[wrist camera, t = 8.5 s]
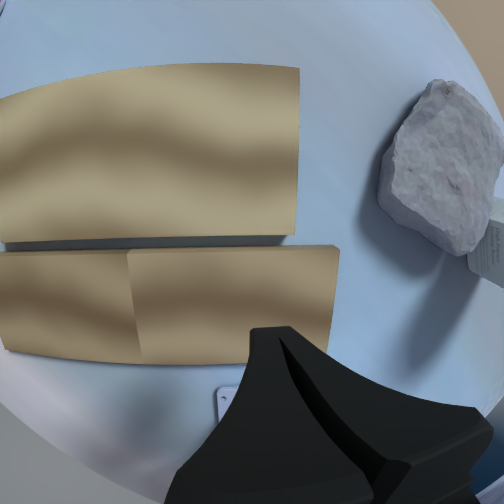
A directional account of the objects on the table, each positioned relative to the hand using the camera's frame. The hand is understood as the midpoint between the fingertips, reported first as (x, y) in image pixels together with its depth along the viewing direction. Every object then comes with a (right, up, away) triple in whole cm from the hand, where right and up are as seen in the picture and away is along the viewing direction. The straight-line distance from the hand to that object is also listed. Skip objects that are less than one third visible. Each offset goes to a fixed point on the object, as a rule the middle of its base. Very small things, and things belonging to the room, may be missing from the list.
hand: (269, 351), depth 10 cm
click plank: (-8, +9, +6) cm, 14 cm away
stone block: (+13, +10, +10) cm, 19 cm away
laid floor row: (-8, 0, +9) cm, 12 cm away
